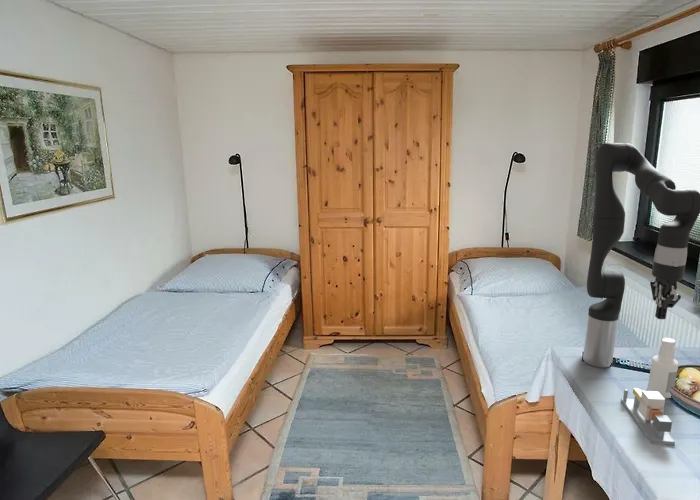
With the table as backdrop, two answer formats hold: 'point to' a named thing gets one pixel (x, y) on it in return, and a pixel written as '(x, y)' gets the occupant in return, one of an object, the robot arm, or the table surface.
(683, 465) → the table surface
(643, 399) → the sleeve
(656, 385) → the white bottle
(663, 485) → the table surface
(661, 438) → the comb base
